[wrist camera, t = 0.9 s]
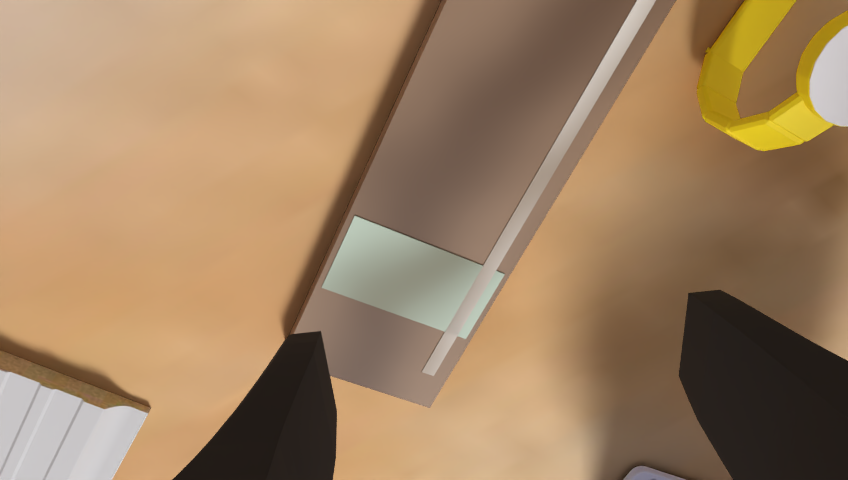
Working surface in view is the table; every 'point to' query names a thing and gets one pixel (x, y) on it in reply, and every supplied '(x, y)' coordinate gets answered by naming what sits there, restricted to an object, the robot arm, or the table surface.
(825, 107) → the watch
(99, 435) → the baseboard molding
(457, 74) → the board
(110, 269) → the table surface
